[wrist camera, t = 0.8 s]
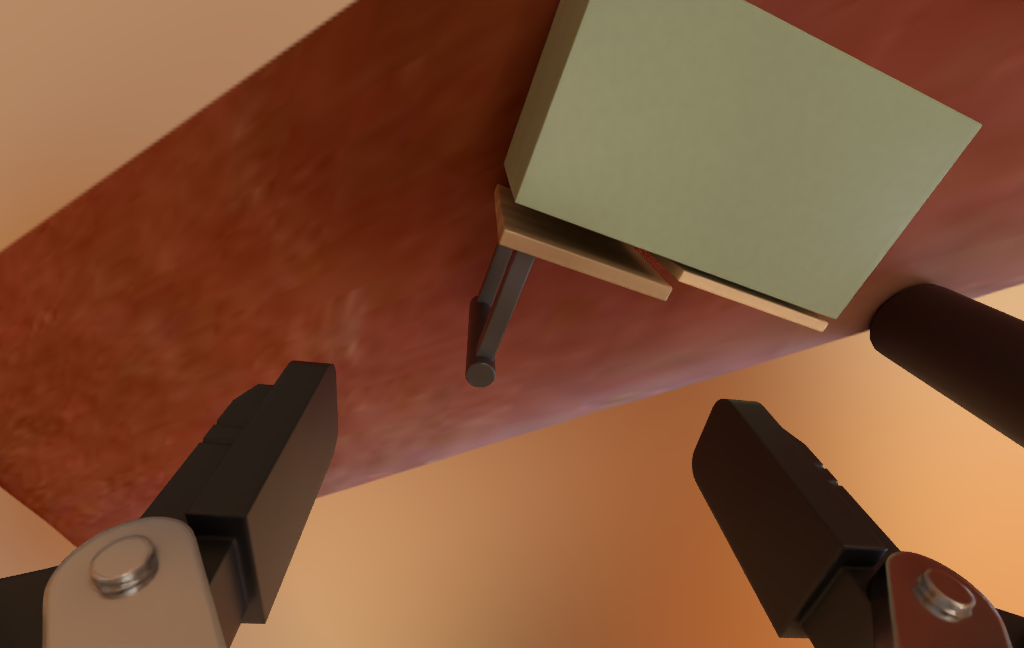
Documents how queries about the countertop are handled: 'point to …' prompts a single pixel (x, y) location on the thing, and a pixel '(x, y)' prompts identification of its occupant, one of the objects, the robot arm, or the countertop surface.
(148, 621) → the robot arm
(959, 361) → the bottle
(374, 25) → the countertop surface
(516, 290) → the brown panel dark handle
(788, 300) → the cabinet
